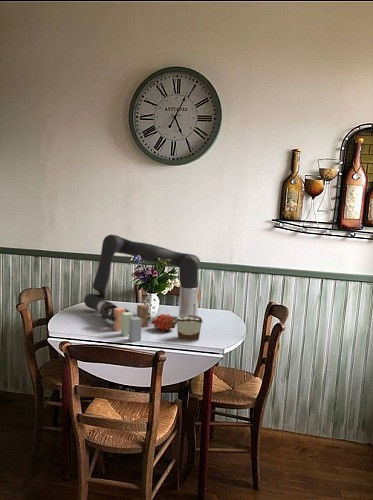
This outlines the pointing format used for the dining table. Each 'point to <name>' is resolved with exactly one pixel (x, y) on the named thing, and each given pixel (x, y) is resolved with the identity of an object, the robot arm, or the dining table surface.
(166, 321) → the dragon fruit
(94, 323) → the dining table surface
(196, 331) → the food container
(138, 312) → the walnut block
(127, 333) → the sage block
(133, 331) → the slate block
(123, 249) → the robot arm
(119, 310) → the terracotta block
